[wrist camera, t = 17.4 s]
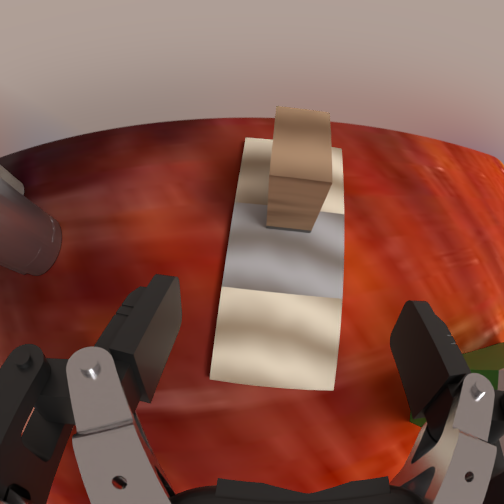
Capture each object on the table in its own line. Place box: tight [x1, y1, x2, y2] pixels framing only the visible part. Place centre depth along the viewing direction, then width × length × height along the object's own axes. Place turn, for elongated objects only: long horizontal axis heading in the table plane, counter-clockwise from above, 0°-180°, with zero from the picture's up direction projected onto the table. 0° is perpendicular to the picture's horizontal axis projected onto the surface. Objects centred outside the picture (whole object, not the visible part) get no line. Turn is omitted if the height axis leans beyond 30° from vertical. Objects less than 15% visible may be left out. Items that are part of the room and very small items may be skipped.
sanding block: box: [266, 106, 333, 233], centre depth 28 cm, size 8×5×11 cm, turn 173°
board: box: [210, 138, 344, 390], centre depth 32 cm, size 30×13×1 cm, turn 173°
